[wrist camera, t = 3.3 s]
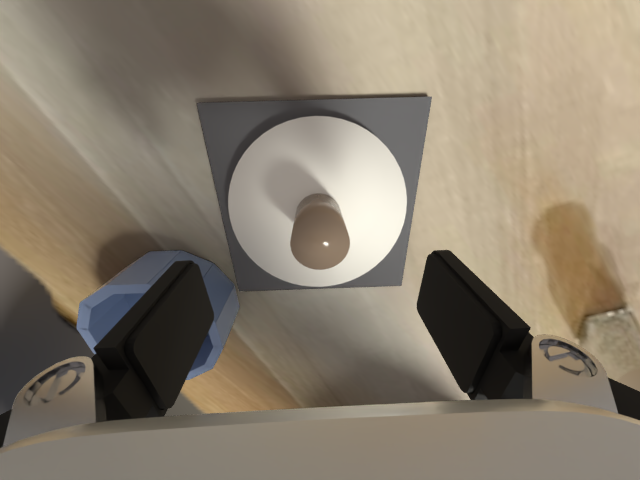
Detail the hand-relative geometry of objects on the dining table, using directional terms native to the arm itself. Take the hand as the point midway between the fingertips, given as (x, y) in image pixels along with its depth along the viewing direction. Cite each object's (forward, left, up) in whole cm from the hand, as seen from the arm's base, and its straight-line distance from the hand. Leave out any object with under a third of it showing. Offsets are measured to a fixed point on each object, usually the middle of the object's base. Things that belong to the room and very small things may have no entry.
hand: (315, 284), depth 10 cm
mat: (0, +1, -11) cm, 11 cm away
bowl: (+14, +10, -11) cm, 20 cm away
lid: (0, +1, -11) cm, 11 cm away
